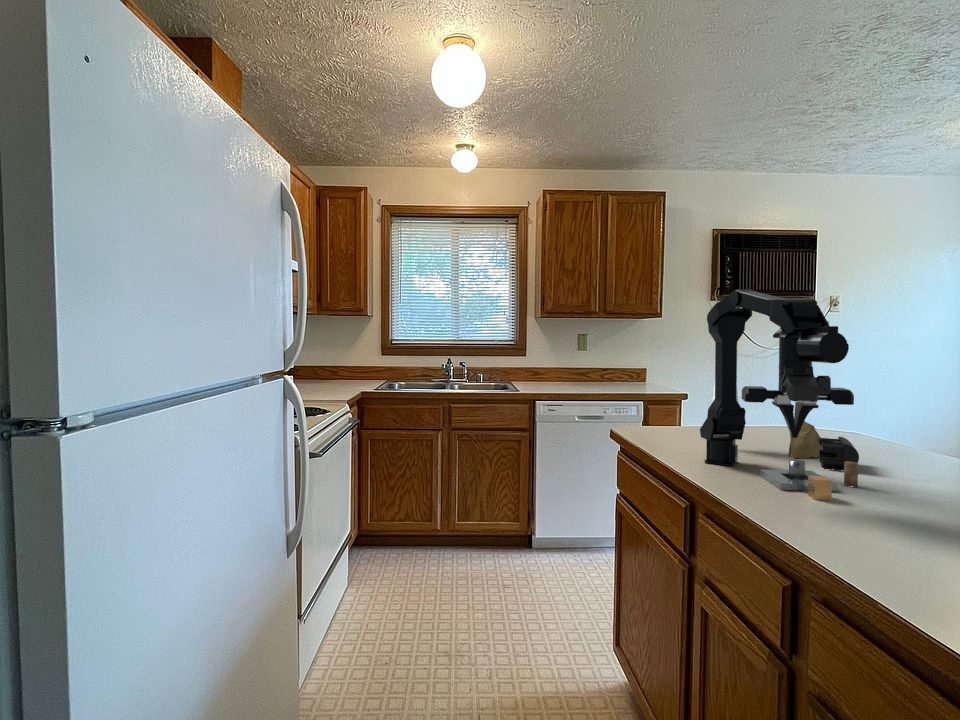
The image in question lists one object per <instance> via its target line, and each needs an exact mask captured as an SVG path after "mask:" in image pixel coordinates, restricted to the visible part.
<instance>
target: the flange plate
mask: <svg viewBox="0 0 960 720" xmlns="http://www.w3.org/2000/svg"><path fill="white" fill-rule="evenodd" d="M759 475H760V477H761V478H763V479H764V480H766V481H767V482H768V483H770V484H771V485H773V486H774V487H775V488H777V489H778V490H780V491H793V490H796V491H798V492H799V491H801V492H804V493H805V494H807V496H808V497H809V498H811V497H812V498H811V499H813V500H815V501H832V495H833V494H832V493H833V492H832V491H837V492H838V483H835V482H834V481H833V480H831V479H830V478H828V477H826V476H823V475H821V474H818V473H817V472H815V471H813V470H805V480H789V469H760V471H759Z"/></svg>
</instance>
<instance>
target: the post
mask: <svg viewBox="0 0 960 720" xmlns="http://www.w3.org/2000/svg"><path fill="white" fill-rule="evenodd" d="M788 470H789V480H805V471H806V461H805V460H802V459H798V458H794V459H792V458H790V459H789V460H788Z"/></svg>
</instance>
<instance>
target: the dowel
mask: <svg viewBox="0 0 960 720" xmlns="http://www.w3.org/2000/svg"><path fill="white" fill-rule="evenodd" d="M843 473H844V474H843V480H844V481H843V486H845V485H847V486H846V487H848V486H853V487H852V488H857V487H856V486H859V484H858V483H859V462H858V463H856V462H850V461H846V462H844V471H843Z"/></svg>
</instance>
